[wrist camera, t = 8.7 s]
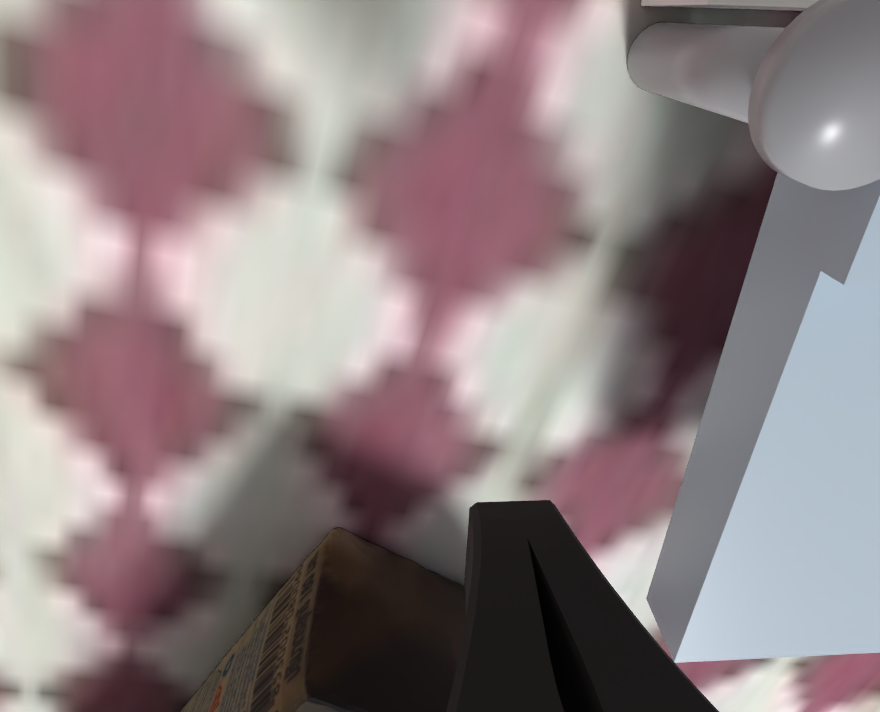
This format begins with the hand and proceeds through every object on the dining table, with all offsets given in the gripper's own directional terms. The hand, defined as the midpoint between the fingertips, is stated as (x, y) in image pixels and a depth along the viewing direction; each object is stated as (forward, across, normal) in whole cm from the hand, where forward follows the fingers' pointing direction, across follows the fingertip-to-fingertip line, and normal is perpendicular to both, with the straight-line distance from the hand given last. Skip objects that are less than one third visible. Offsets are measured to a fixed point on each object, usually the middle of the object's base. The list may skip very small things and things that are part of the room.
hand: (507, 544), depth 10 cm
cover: (+4, -8, -1) cm, 9 cm away
